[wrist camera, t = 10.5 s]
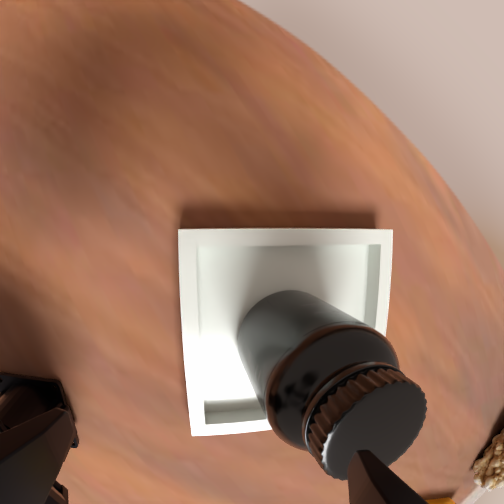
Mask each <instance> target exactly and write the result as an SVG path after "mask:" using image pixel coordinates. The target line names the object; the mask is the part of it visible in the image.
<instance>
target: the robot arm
mask: <svg viewBox="0 0 504 504" xmlns="http://www.w3.org/2000/svg"><path fill="white" fill-rule="evenodd" d="M1 379H2V380H1ZM54 385H55V386H57V388H55V387H54ZM76 434H77V430H76V427H75V424H74V421H73V417H72V414H71V411H70V408H69V407H68V406H67V403H66V400H65V396H64V392H63V388H62V385H61V383H60V382H59V381H57V380H53V379H44V378H36V377H28V376H21V375H15V374H8V373H2V372H0V504H68V489H67V488H65V487H64V486H63V485H60V484H59V483H58V482H57V481H56V478H57V476H58V474H59V471H60V469H61V467H62V464H63V462H64V461H65V459H66V456H67V454H68V452H69V450H70V447H71V448H77V447H78V444H79V441H78V438H77V435H76ZM73 442H74V443H73ZM347 475H348V487H349V502H350V504H429V503H428V502H426V501H425V500H424V499H423V498H422V497H421V496H420V495H418V494H417V493H416V492H415V491H414V490H413V489H412V488H410V487H409V486H408V485H407V484H406V483H405V482H404V481H403V480H401V479H400V478H399V477H398V476H397V475H396V474H395V473H394V472H393V471H392V470H390V469H389V468H388V467H387V466H386V465H385V464H384V463H383V462H382V461H381V460H380V459H379V458H377V457H376V456H375V455H374V454H373V453H372V452H371V451H370V450H357V451H356V452H355V453H354V455H353V457H352V459H351V461H350V463H349V465H348V469H347Z"/></svg>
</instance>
